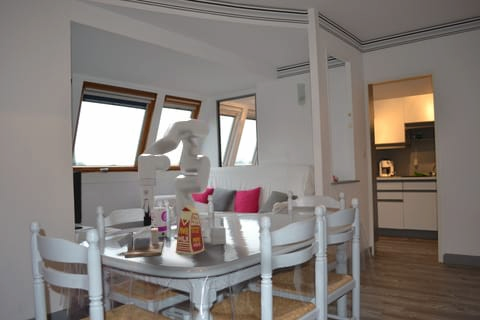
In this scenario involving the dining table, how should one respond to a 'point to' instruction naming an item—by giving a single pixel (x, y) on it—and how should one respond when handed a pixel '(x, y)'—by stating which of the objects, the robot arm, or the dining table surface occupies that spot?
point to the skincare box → (218, 235)
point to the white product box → (159, 220)
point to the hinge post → (129, 241)
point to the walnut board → (146, 251)
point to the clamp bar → (123, 240)
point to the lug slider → (154, 235)
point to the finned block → (141, 243)
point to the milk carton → (190, 232)
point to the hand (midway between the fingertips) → (147, 225)
